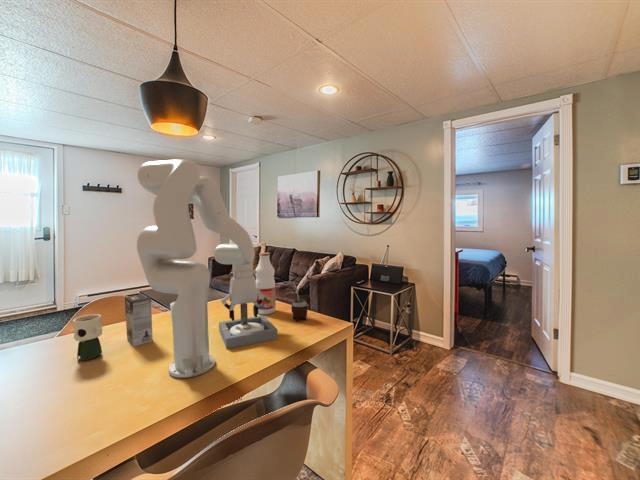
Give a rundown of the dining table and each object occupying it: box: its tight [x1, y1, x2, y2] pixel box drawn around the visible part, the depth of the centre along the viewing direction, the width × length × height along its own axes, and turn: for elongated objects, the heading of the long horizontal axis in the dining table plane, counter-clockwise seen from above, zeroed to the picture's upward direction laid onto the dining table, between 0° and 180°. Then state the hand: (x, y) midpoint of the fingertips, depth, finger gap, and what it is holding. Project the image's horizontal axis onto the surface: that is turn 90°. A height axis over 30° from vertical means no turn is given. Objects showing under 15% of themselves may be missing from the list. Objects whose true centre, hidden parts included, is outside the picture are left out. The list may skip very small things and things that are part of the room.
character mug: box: [72, 313, 103, 361], centre depth 93 cm, size 11×7×13 cm, turn 70°
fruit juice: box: [254, 251, 277, 315], centre depth 138 cm, size 9×9×28 cm
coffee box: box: [124, 293, 154, 347], centre depth 106 cm, size 9×6×16 cm
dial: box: [230, 303, 264, 336], centre depth 111 cm, size 13×13×9 cm
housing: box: [218, 314, 279, 350], centre depth 111 cm, size 18×18×4 cm
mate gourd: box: [290, 282, 309, 323], centre depth 127 cm, size 8×8×15 cm
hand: (244, 317), depth 115 cm, fingers open, 8 cm apart
